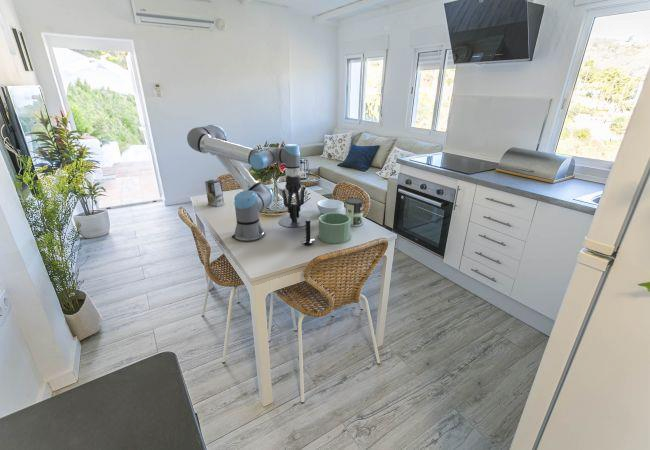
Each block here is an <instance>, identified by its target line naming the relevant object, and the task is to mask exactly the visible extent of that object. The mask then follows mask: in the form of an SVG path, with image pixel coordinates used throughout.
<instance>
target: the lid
mask: <svg viewBox="0 0 650 450" xmlns="http://www.w3.org/2000/svg"><path fill="white" fill-rule="evenodd" d="M291 207H292V212H293V219H291V218H290V214H289V215H285V216H282V217H280V218H279V219H278V225H279V226H280V227H282V228H287V229H301V228H304V227H305V228H306V220H307V219H309V220H310V223H311V218H309V217H308V216H306V215H302V214H299V218H297V202H291Z"/></svg>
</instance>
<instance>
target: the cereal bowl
mask: <svg viewBox="0 0 650 450" xmlns="http://www.w3.org/2000/svg"><path fill="white" fill-rule="evenodd" d="M316 205H317V210H318V211H319V212H320V213H322V215H323V214H326V213H342V212H343V210H344V207H345V204H344V202H343V201H341V200H339V199H330V198H329V199H328V198H326V199H321V200H318V201H317V204H316Z"/></svg>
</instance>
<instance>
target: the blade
mask: <svg viewBox="0 0 650 450" xmlns="http://www.w3.org/2000/svg"><path fill="white" fill-rule="evenodd" d="M310 220H311V219H310ZM310 220H309V219H307V220H306V226H305V237H303V238H304V239H305V240H301V243H302V244H304V246H311V245H313V242H315V241H316V240H315V238H311V222H310Z"/></svg>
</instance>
